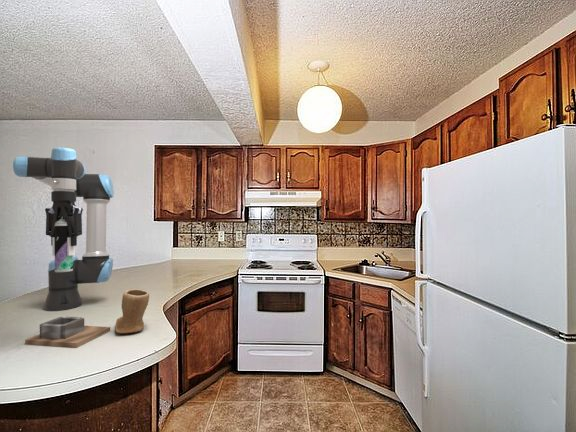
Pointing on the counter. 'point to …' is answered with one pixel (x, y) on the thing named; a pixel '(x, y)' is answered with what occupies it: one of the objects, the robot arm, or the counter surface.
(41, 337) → the socket board
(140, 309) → the tan boot-shaped piece
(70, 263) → the spray can
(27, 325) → the counter surface
